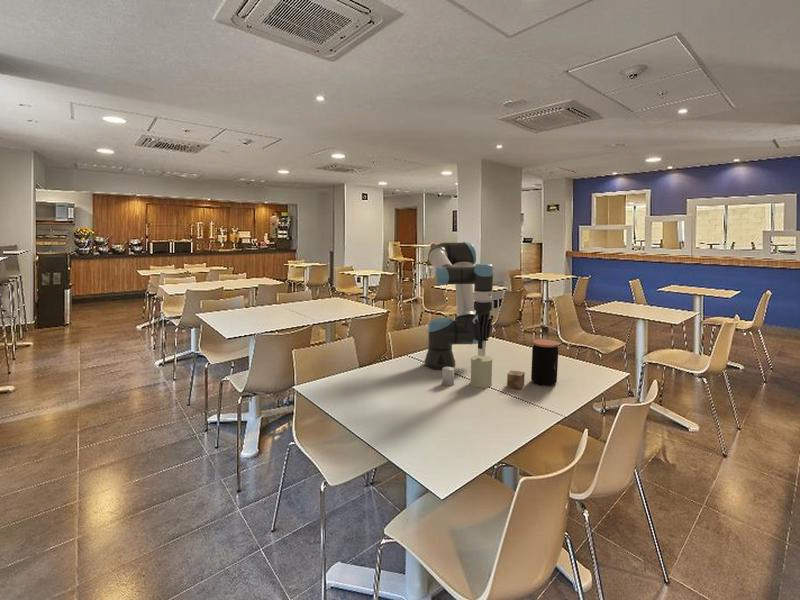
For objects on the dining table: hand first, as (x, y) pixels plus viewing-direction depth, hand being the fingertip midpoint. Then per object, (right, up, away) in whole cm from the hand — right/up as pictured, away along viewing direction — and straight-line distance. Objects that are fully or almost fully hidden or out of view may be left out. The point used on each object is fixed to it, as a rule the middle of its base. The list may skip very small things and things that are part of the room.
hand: (481, 355), depth 184 cm
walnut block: (+14, -13, -1) cm, 19 cm away
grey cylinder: (-14, -13, +2) cm, 19 cm away
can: (0, -13, +2) cm, 13 cm away
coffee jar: (+28, -12, +4) cm, 31 cm away
